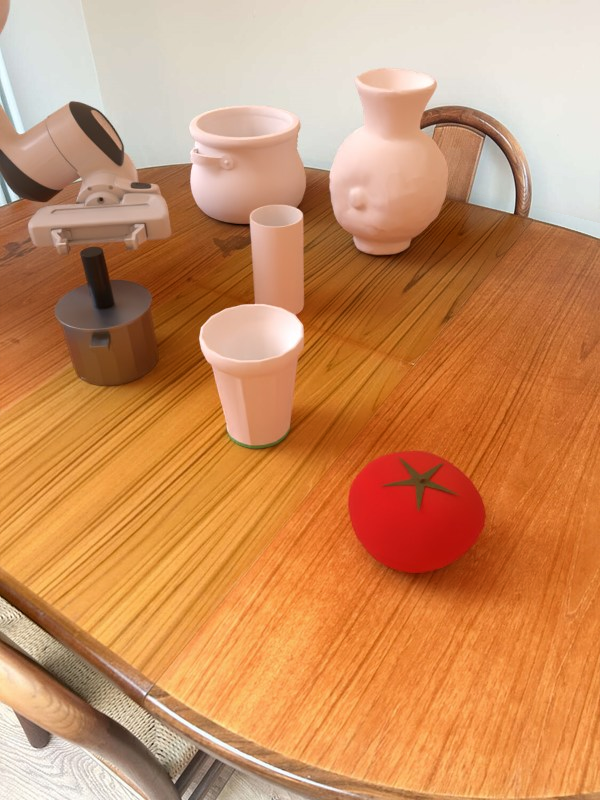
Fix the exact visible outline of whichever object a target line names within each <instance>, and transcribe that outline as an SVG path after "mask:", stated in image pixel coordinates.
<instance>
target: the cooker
mask: <svg viewBox="0 0 600 800" xmlns="http://www.w3.org/2000/svg"><path fill="white" fill-rule="evenodd" d="M117 280H120V279H117ZM60 326H61V330H62V334H63V336H64V340H65V343H66V346H67V350H68V353H69V357H70V361H71V363H72V364H71V365H72V367H73V369H74V371H75V374H76V375H77V377H78V378H79V379H81V380H82V381H83V382H86V383H88V384H91V385H94V386H101V387H111V386H112V387H115V386H121V385H126V384H128V383H132V382H135V381H137V380H139V379H141V378H143V377H144V376H146V375H148V374H149V373H150V372H151V371H152V370H153V369H154V368H155V366H156V365H157V363H158V360H159V346H158V341H157V336H156V330H155V324H154V320H153V315H152V307H151V308H150V309H149V311H148V312H147V313H146V314H145V315H144V316H143V317H142V318H141V319H139V320H138V321H136V322H134V323H132V324H130V325H128V326H125V327H122V328H119V329H115V330H111V331H105V332H80V331H75V330H72V329H69V328H67V327H65V326H63V325H62V324H61V323H60Z"/></svg>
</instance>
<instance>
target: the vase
mask: <svg viewBox="0 0 600 800" xmlns="http://www.w3.org/2000/svg"><path fill="white" fill-rule="evenodd" d="M354 79H355V80H354V84H355V87H356V90H357V94H358V95H359V100H360V103H361V106H362V112H363V125H362V126H360V127H359V128H356V129H355V130H353V131H352V132H351V133H350V134H349V135H348V137H347V138H345V139H344V140H343V142H342V144H341V146H339V148H338V149H337V152H336V154H335V156H334V159H333V162H332V165H331V167H330V172H329V186H328V187H329V193H330V202H331V206H332V210H333V215H334V217H335V219H336V221H337V223H338V224H339V225H340V226H341V228H342V230H344V231H346V232H347V233H349V234H351V235H352V240H353V243H354V246H355V248H356V249H357V250H359V251H360V252H362V253H365V254H368V255H373V256H384V255H385V256H386V255H387V256H388V255H389V256H390V255H396V254H399V253H401V252H404V251H405V250H407V249H408V248H410V245H411V242H412V239H414V238H416V237H417V236H419V235H421V234H422V233H423V231H425V230H426V229H427V228H428V227H429V226H430V225H431V224H432V222H434V221H435V220H436V219H437V218H438V216H439V215H440V212H441V210H442V207H443V204H444V202H445V201H446V200H445V199H446V195H447V190H448V181H449V177H450V173H449V167H448V163H447V159H446V157H445V155H444V154H443V152H442V151H441V149H440V148H439V146H438V144H437V142H435V140H434V139H433V138H432V137H431V136H430V135H429V134H428V133H427V132H425V131H423V130H422V129H421V121H422V117H423V115H424V112H425V110H426V107H427V105H428V103H429V102H430V100H431V98H432V96H433V95H434V93H435V91H436V90H437V87H438V83H437V81H436V78H434V77H433V76H431V75H428V74H426V73H425V72H418V71H415V70H409V69H405V68H395V67H393V68H391V67H380V68H375V69H371V70H369V71H366V72H362V73H361V74H360V75H357V76H356V77H355V78H354Z"/></svg>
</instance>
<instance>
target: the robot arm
mask: <svg viewBox="0 0 600 800" xmlns="http://www.w3.org/2000/svg"><path fill="white" fill-rule="evenodd" d="M10 8H11V0H0V35H2V32H3V30H4V28H5V26H6V24H7V21H8V17H9V14H10V10H11V9H10ZM138 173H139V172H138V170H137V167H136V165H135V163H134V161H133V160H132V157H130V156H129V154H127V152H125V145H124V142H123V139H122V138H121V137H120V135H119V132H117V130H116V128H115V127H114V125H113V124H112V123H111V121H110V120H109V119H108V118H107V117H106V115H104V114H103V112H102V111H100V110H99V109H97V108H95V107H93V106H91V105H89V104H86V103H83V102H80V101H75V100H72V101H71V100H70V102H68V103H66V104H65V105H63V106H61V107H60V108H59V109H57V110H56V111H54V112H52V113H51V114H49V115H48V116H47V117H46V118H44V119H43V120H42V121H39V122H38V123H37V124H35V125H34V126H32V127H31V128H30V129H28V130H26V131H25V132H23V133H18V132H17V130H16V129H15V127H14V125H13V124H12V122H11V120H10V118H9V117H8V115H7V113H6V111H5V109H4V107H3V105H2V104H1V103H0V174H1V177H2V178H3V180H4V182H5V183H6V185H7V186H8V188H9V189H10V190H11V191H12V192H13V193H14V194H15V195H16V196H17V197H19V198H21V199H23V200H27V201H32V202H34V203H35V202H36V203H48V202H50V201H51V200H52V199H53V198H54V197H56V196H57V195H59V193H61V192H63V190H64V189H65V188H67V187H68V186H70V185H72V184H73V183H74V182H77V180H79V179H81V182H82V183H81V185H80V189H79V191H78V194H77V197H76V201H75V203H67V204H66V203H65V204H64V203H63V204H51V205H46V206H42V207H41V208H39V209H37V211H36V212H35V213H34V214H33V216H31V218H30V220H29V221H28V223H27V229H28V233H29V237H30V239H31V242H32V244H33V246H35V247H37V248H56V252H57V255H58V256H64V255H66V256H67V255H70V253H71V250H72V249H71V246H84V245H99V244H112V243H114V244H115V243H124V244H125V250H126V251H138V247H139V246H140V245H142V244H143V243H144V242H145V243H146V241H157V240H166V239H168V238H170V237H171V236H172V226H171V225H172V224H171V218H170V213H169V207H168V204H167V201H166V199H165V198H164V197H163V195H162V192H161V189H160V186H159V184H155V183H148V182H147V183H146V182H140V179H139V174H138Z"/></svg>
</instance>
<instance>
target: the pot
mask: <svg viewBox="0 0 600 800" xmlns="http://www.w3.org/2000/svg"><path fill="white" fill-rule="evenodd" d="M188 130H189V134H190V136H191V137H192V139H193V140H194V146H193V148H192V149H190V151H189V152H190V163H192V165H191V170H190V181H189V185H190V189H191V194H192V198H193V199H194V201H195V203H196V205H197V207H198V208H200V210H201V211H202V212H203V213H204V214H205V215H206V216H208V217H210V218H212V219H214V220H217V221H220V222H224V223H230V224H236V225H237V224H239V225H250V214H251V213H252V212H253V211H254V210H255V209H257V208H260V207H263V206H268V205H287V206H292V207H295V208H297V209H298V207H299V205H300V204H301V203H302V201H303V198H304V195H305V192H306V188H307V176H306V170H305V166H304V163H303V160H302V157H301V155H300V153H299V151H298V139H299V132H300V130H301V120H300V118H299V117H298V116H297V115H296V114H295V113H293V112H291V111H289V110H286V109H283V108H279V107H275V106H268V105H250V104H249V105H233V106H225V107H219V108H213V109H211V110H208V111H204V112H202V113H200V114H198V115H196V116H194V117H193V118H192V119H191V120H190V123H189V126H188Z"/></svg>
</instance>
